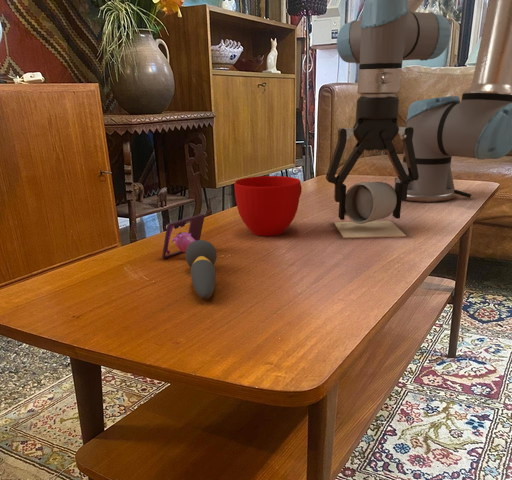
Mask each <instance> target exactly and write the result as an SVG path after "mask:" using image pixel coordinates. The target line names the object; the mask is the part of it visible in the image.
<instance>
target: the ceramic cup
mask: <svg viewBox="0 0 512 480" xmlns="http://www.w3.org/2000/svg"><path fill="white" fill-rule="evenodd" d="M233 185H234V196H235V202H236V208H237V211H238V214H239V217H240V219H241V220H242V222H243V223H244V225H245V226H246V228H247V229H249V231H251V233H252V234H253V235H256V236H262V237H264V236H265V237H271V236H278V235H282V234H284V233H285V231H286V230H287V229H288V228H289V226H290V225H291V224H292V222H293V221H294V219H295V217H296V215H297V212H298V210H299V209H298V208H299V203H300V198H301V195H302V191H303V190H302V189H303V188H302V184H301V179H299V178H298V177H297V178H296V177H293V176H292V177H291V176H283V175H261V176H258V175H257V176H248V177H244V178H239V179H237V180H235V181H234V184H233Z"/></svg>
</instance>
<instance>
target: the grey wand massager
mask: <svg viewBox="0 0 512 480" xmlns="http://www.w3.org/2000/svg"><path fill="white" fill-rule="evenodd" d="M184 254H185V257H184V258H185V261H186V263H187V265H188V267H190V278H191V279H190V280H191V283H192V286H193V289H194V291H195V293H196V294H197V295H198V297H199V298H201V299H202V300H208V299H210V297H212V295H213V293H214V291H215V287H216V279H217V278H216V269H215V264H216V262H217V256H218V255H217V251H216V248H215V246H214V245H213V244H212V243H211V242H210V241H208V240H204V239H200V240H197V241H194V242H192V243H191V244H190V245H189V246H188V247H187V249H186V253H184Z"/></svg>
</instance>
